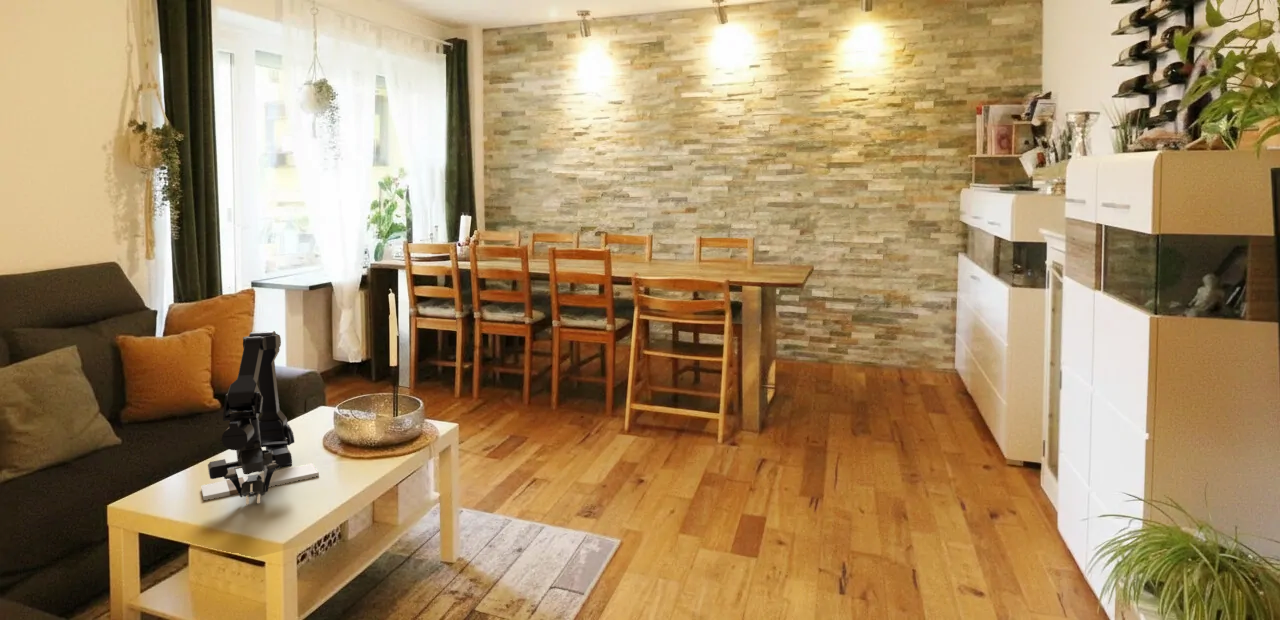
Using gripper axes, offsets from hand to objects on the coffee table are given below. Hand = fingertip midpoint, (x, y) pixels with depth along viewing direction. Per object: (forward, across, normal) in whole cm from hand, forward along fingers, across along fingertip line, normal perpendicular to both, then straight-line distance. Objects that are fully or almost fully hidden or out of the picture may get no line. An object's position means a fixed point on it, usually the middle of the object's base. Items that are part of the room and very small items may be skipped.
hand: (253, 494), depth 198 cm
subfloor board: (+2, +3, +12) cm, 12 cm away
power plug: (+2, +1, +2) cm, 2 cm away
